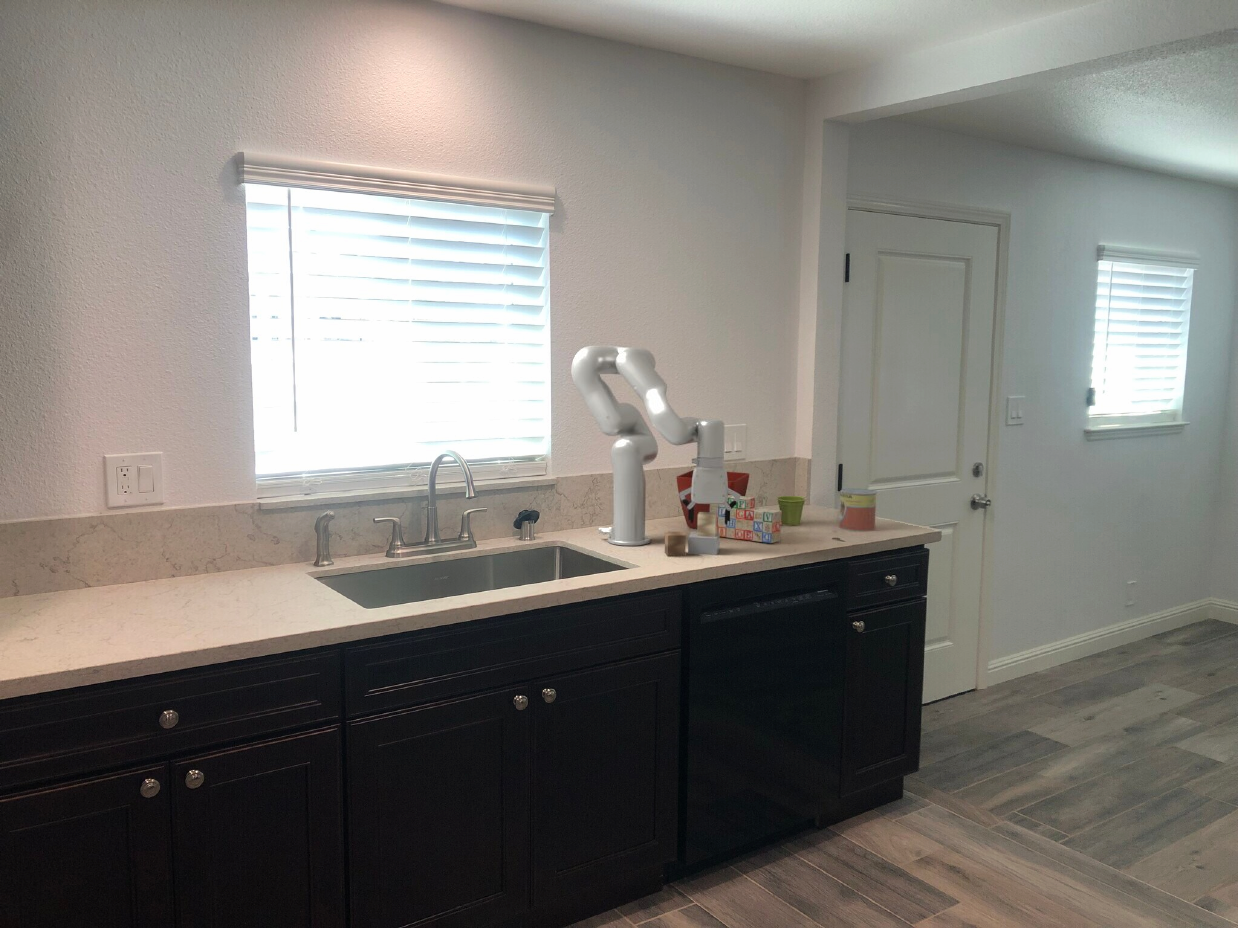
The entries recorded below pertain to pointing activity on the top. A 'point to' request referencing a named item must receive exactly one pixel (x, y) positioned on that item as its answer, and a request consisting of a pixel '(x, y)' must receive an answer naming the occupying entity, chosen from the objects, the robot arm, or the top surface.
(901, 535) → the top surface
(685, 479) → the plant pot
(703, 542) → the stone block
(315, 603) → the top surface
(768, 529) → the stack of blocks
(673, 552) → the walnut cube
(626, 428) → the robot arm
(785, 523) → the plant pot
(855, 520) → the canned food
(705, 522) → the maple cube
